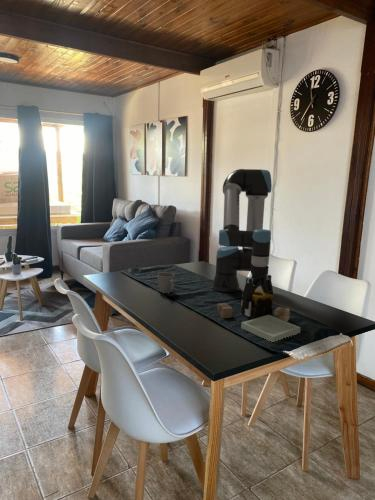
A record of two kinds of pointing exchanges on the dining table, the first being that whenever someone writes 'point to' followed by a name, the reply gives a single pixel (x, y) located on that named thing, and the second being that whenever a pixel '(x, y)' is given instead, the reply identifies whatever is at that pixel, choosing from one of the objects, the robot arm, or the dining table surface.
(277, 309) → the oak block
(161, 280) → the mug
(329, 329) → the dining table surface
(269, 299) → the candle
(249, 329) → the tray
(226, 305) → the walnut block
